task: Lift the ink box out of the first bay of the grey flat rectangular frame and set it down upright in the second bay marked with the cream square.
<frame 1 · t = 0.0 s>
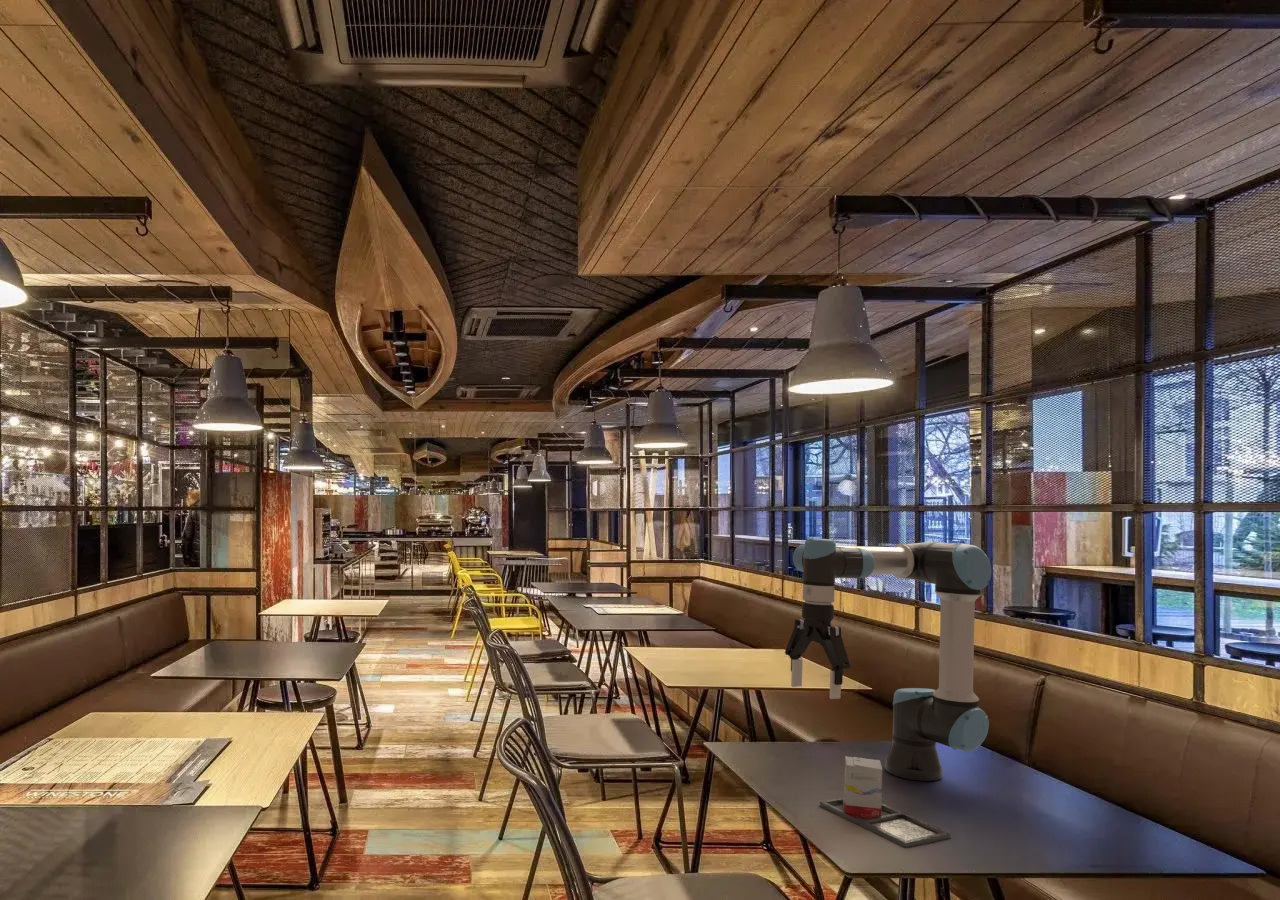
hand: (815, 692, 196), 28 cm above the table, fingers open, 13 cm apart
grey flat rectangular frame: (882, 821, 191), on the table
ink box: (861, 812, 197), resting in grey flat rectangular frame
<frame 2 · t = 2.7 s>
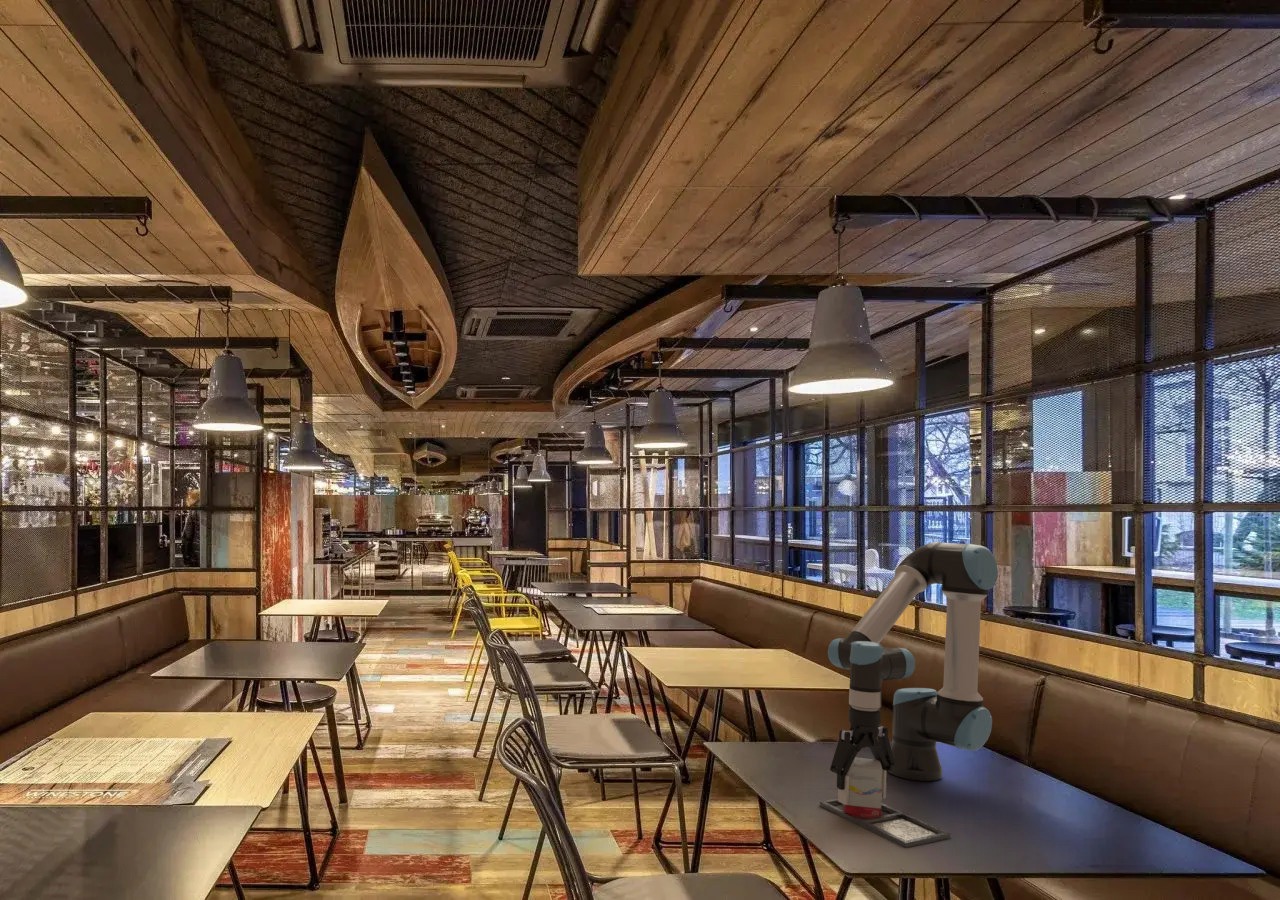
hand: (862, 799, 197), 3 cm above the table, fingers closed on ink box, 11 cm apart
ink box: (861, 812, 197), resting in grey flat rectangular frame, touching gripper
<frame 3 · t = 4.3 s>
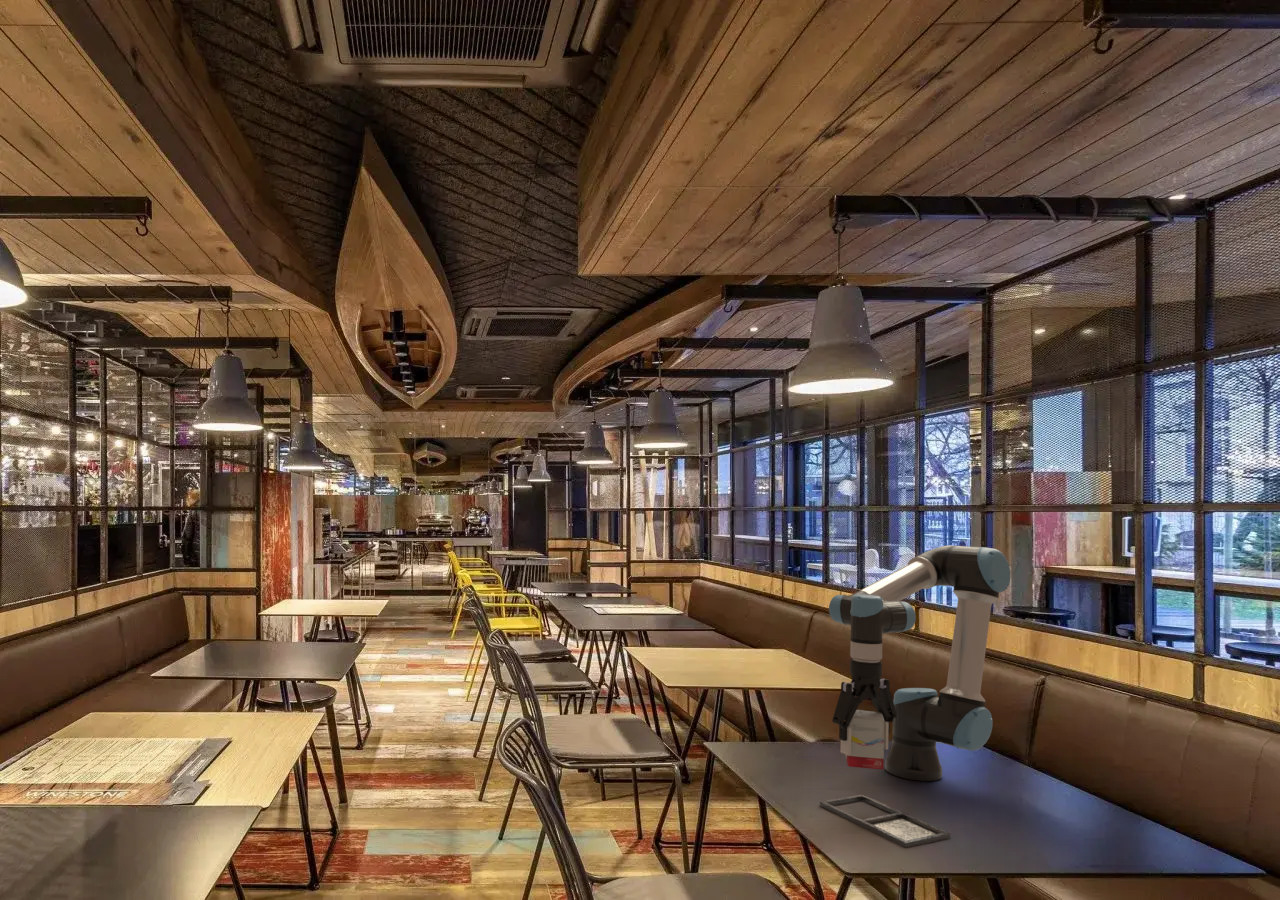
hand: (864, 751, 198), 14 cm above the table, fingers closed on ink box, 11 cm apart
ink box: (864, 764, 198), point 11 cm above the table, touching gripper
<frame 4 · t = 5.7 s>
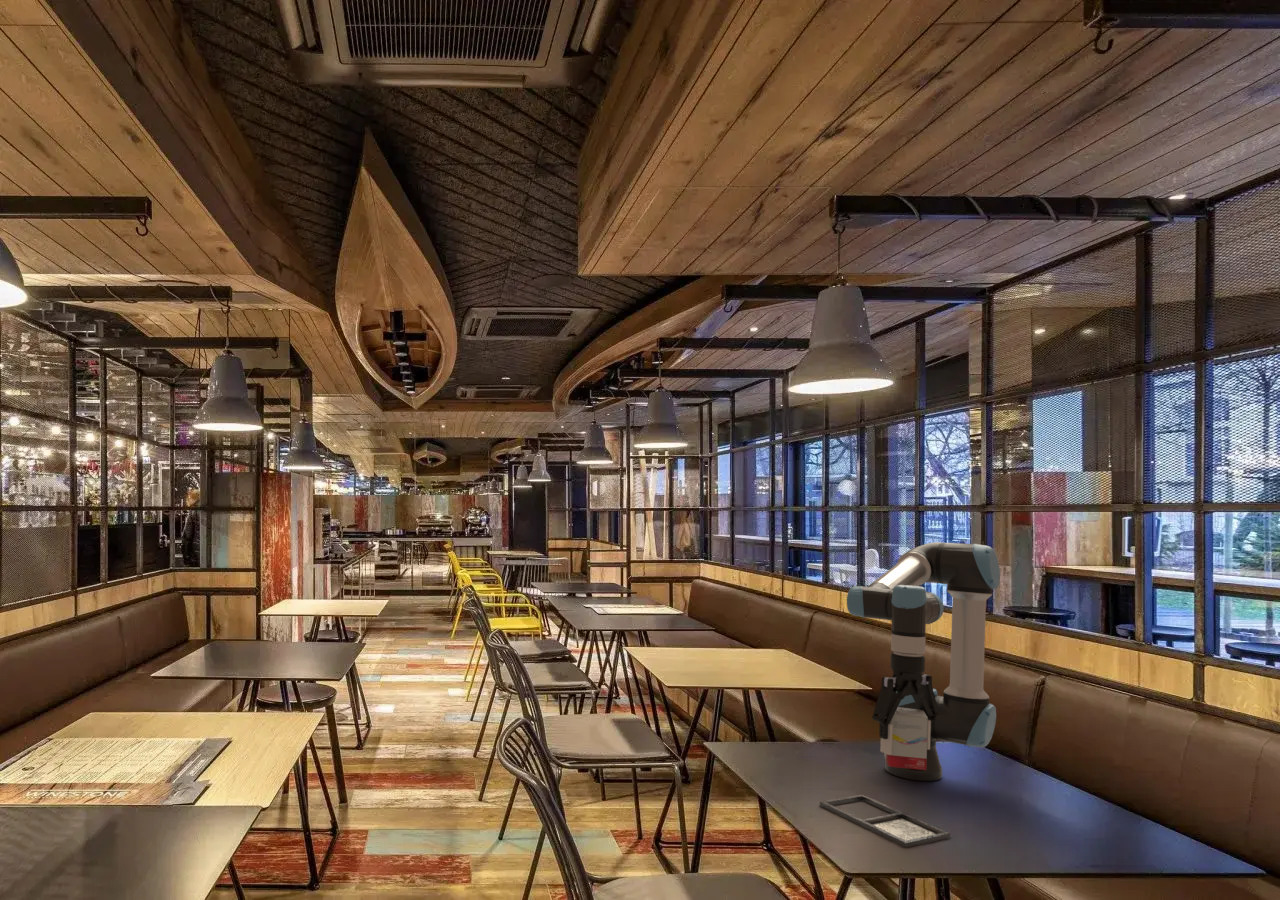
hand: (905, 750, 187), 18 cm above the table, fingers closed on ink box, 11 cm apart
ink box: (905, 764, 186), point 15 cm above the table, touching gripper
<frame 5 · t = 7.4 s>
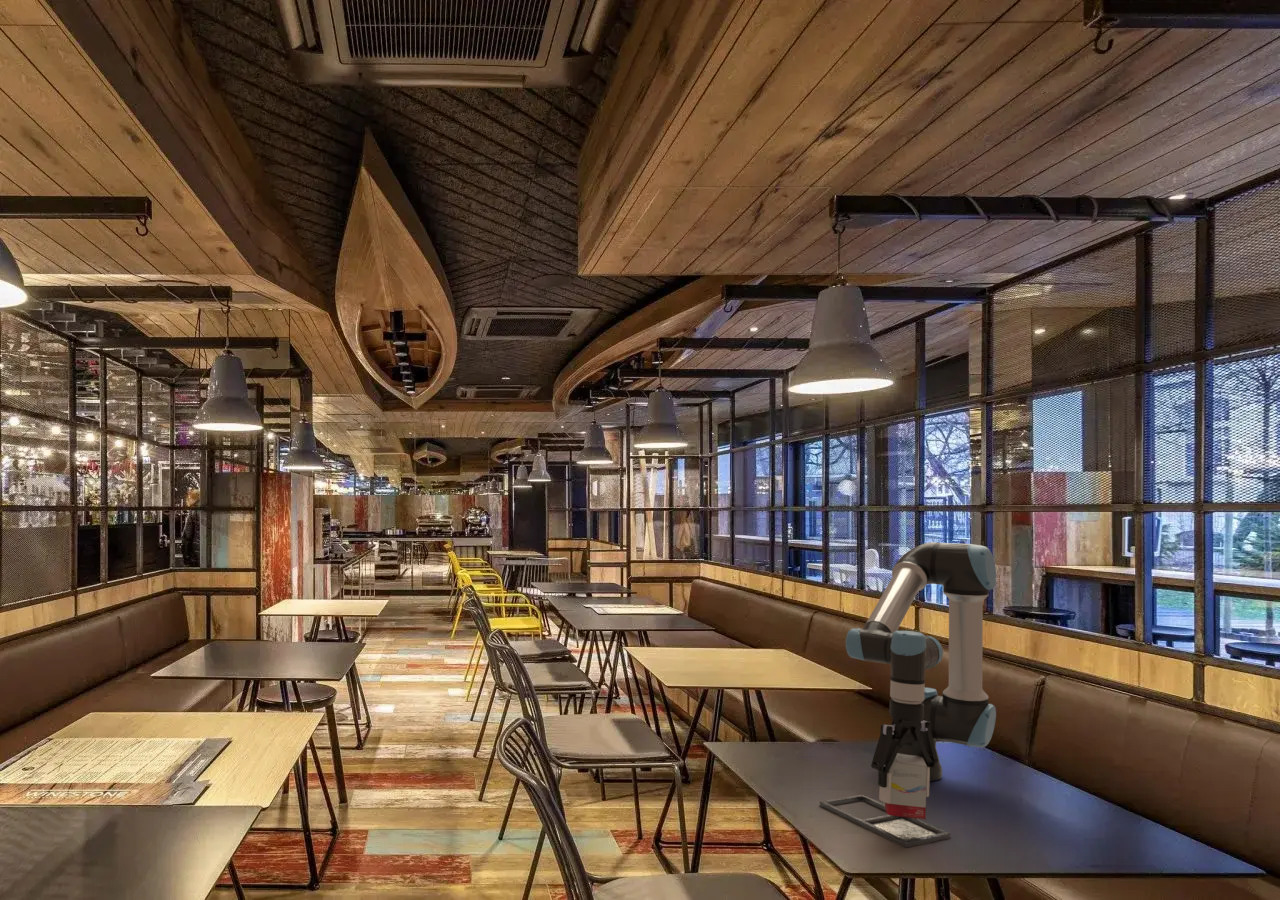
hand: (904, 798, 186), 7 cm above the table, fingers closed on ink box, 11 cm apart
ink box: (903, 812, 185), point 4 cm above the table, touching gripper
when the fingers open (4 cm above the table, at t = 8.7 s): ink box drops 1 cm, resting on grey flat rectangular frame.
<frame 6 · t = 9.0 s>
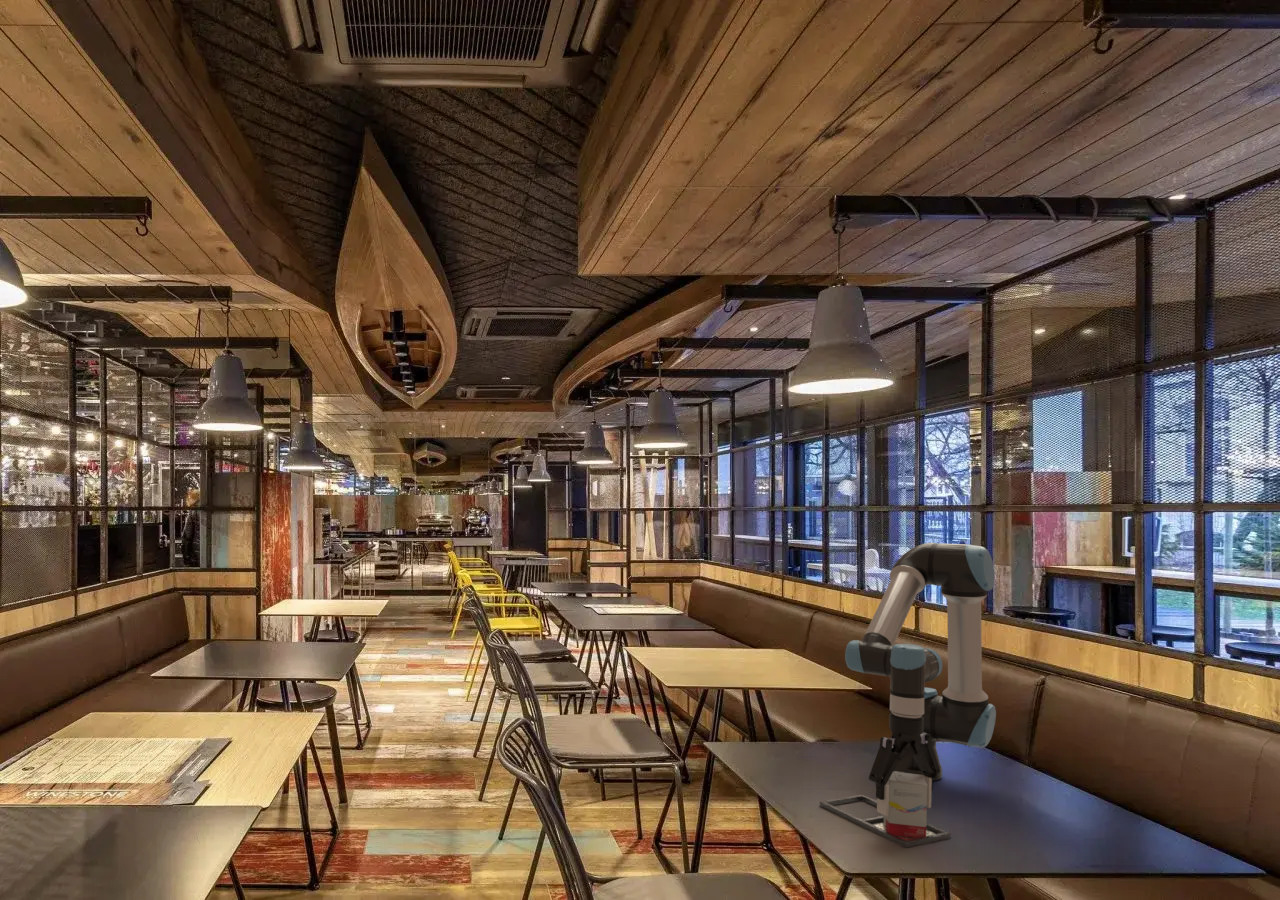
hand: (904, 809, 186), 5 cm above the table, fingers open, 13 cm apart
ink box: (904, 831, 185), resting on grey flat rectangular frame
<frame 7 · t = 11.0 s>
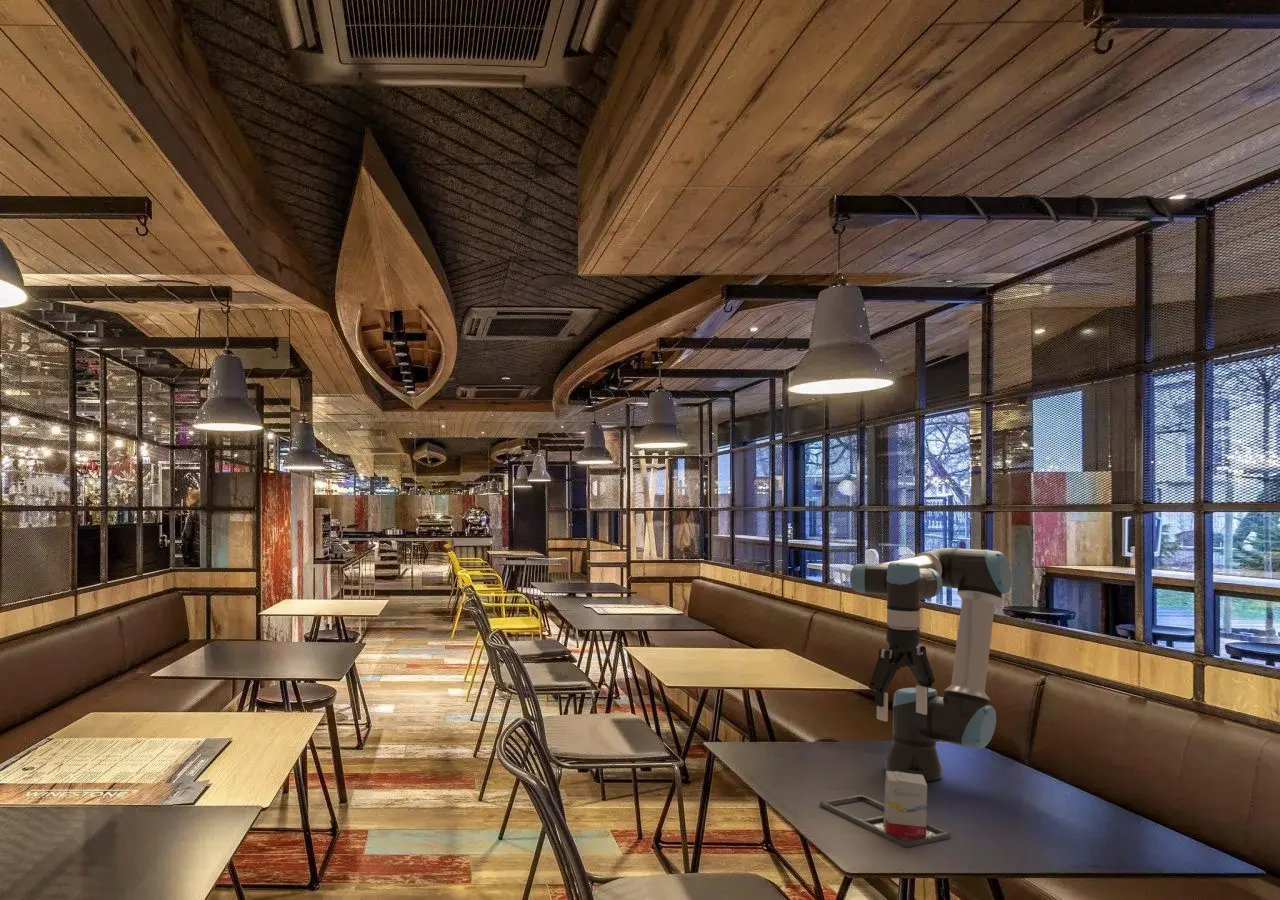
hand: (902, 716, 196), 23 cm above the table, fingers open, 13 cm apart
nothing on the table moved.
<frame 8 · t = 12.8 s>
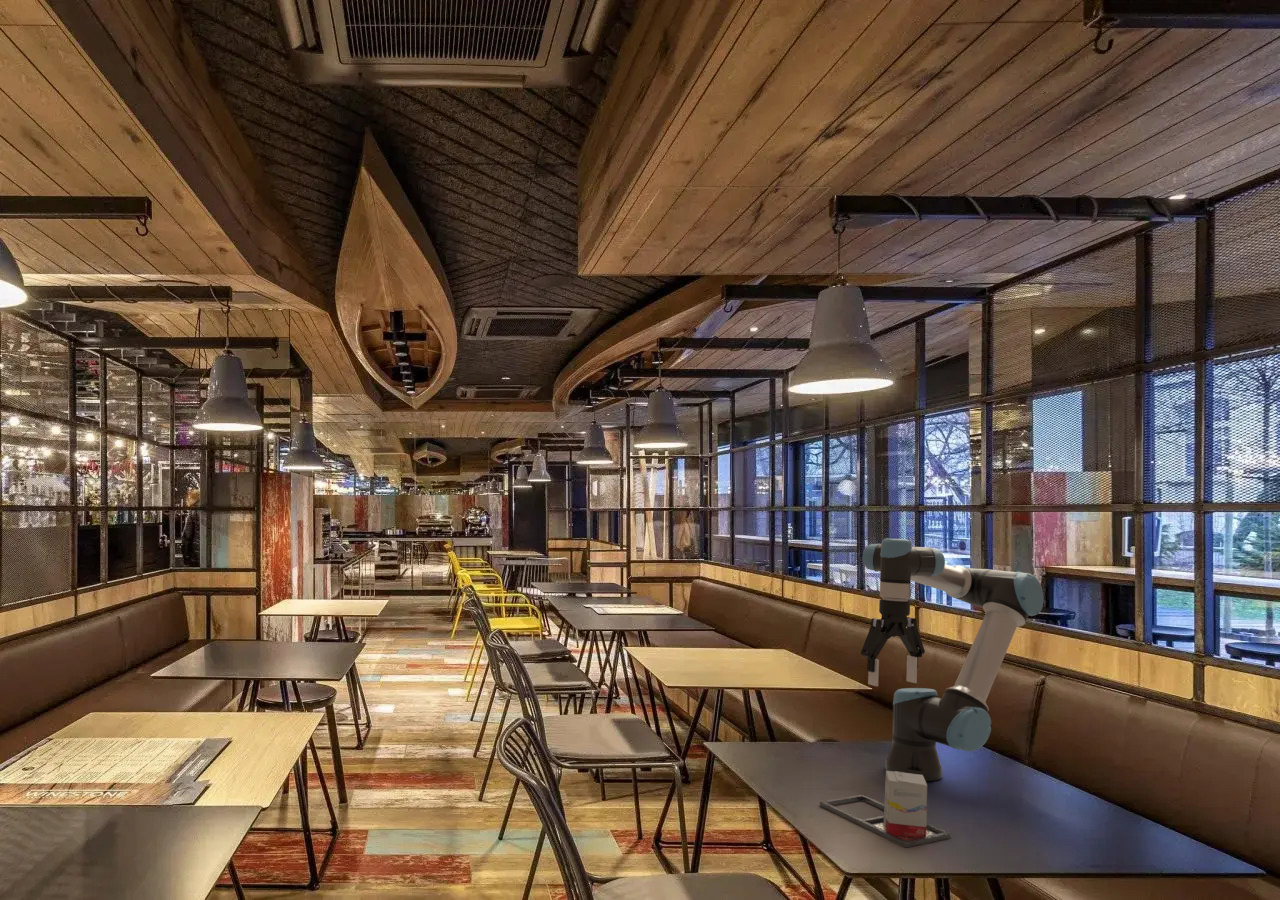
hand: (892, 683, 208), 29 cm above the table, fingers open, 13 cm apart
nothing on the table moved.
at the end: ink box 0.3 cm from the target spot on the grey flat rectangular frame, point 0.0 cm above the grey flat rectangular frame's base; ink box tilted 0°; the gripper is holding nothing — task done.
